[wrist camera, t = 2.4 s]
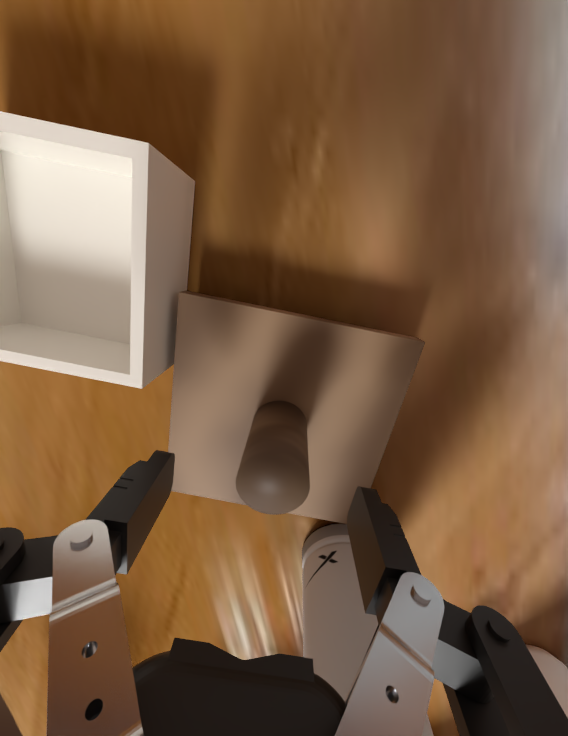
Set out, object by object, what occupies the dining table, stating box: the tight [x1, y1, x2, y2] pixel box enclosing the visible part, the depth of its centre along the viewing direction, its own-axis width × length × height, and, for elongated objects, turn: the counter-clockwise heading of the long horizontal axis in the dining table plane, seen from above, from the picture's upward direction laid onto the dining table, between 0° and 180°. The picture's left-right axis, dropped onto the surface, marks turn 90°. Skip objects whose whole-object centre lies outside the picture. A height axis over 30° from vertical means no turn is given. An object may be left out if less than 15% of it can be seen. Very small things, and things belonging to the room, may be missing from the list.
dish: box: [0, 111, 195, 389], centre depth 14 cm, size 10×10×5 cm
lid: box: [168, 291, 425, 524], centre depth 15 cm, size 13×13×6 cm
